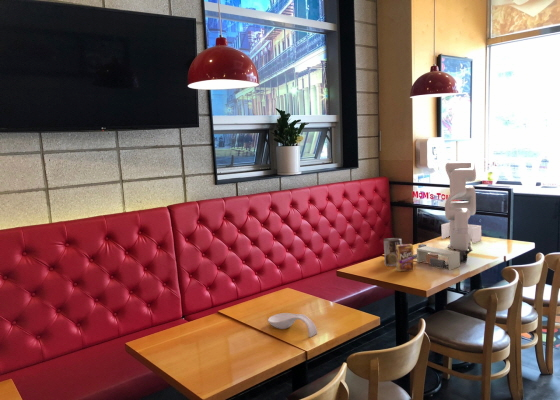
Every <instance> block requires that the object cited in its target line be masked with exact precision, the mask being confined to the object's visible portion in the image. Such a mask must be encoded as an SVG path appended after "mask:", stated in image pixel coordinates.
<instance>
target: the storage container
mask: <svg viewBox="0 0 560 400" xmlns="http://www.w3.org/2000/svg"><path fill="white" fill-rule="evenodd" d="M440 226H441V229H440V230H441V239H442V240H444V239H446V237H447V238H450V237H449V236H450V221H448V222H446V223H442V224H441V225H440ZM468 233H469V235H470V240H471V244H475V243H478V242H481V241H482V225H477V224H469V223H468Z"/></svg>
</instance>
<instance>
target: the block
mask: <svg viewBox="0 0 560 400" xmlns="http://www.w3.org/2000/svg"><path fill="white" fill-rule="evenodd" d="M430 258H435V259H439V255H438V254H433V253H428V254H427V255H426V261H425V262H426V264H427V263H428V264H430Z"/></svg>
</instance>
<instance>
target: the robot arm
mask: <svg viewBox="0 0 560 400" xmlns="http://www.w3.org/2000/svg"><path fill="white" fill-rule="evenodd" d="M445 172H446V174H447V177H448V180H449V196H448V197H447V199H446V200H445V204H444V213H445V218H446V220H447V221H449V222H450V237H449V244H447V248H448V249H450V250H451V249H452V251H457V250H463V252H464V255H463V261H466V262H467V261H468V255H469V254H470V253H471V252H473V248H472V240H471V239H470V235H469V233H468V224H469V219H470V217H471V216H474V215H475V214H476V212H477V201H476V200H477V195H476V189H475V187H474V186H473V185H467V183H468V182H474V181H476V178H477V172H476V167H475V163H474V162H473V161H471V160H469V161H468V160H461V161H459V160H458V161H449V162H446V163H445ZM455 200H456V201H455ZM463 200H464V201H463ZM457 252H458V251H457Z"/></svg>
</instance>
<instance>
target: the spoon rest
mask: <svg viewBox="0 0 560 400" xmlns="http://www.w3.org/2000/svg"><path fill="white" fill-rule="evenodd" d="M297 320H301V321H302V322H303V323H305V325H306V327H307V331H308V337H309V338H312V337H313V336H315V335H317V334H318V329H317V327H316V325H315V322H314V321H313V320H312V319H310V318H309V317H308V316H307V315H305V314H302V313H297V314H296V313H291V312H283V313H281V312H280V313H277V314H273V315H272V316H269V318H268V319H267V322H268V323H269V325H271V326H272V327H273V328H276V329H279V330H284V329H285V330H286V329H288V328H290V327H291V326H293V324H294V323H295V322H296V321H297Z"/></svg>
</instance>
